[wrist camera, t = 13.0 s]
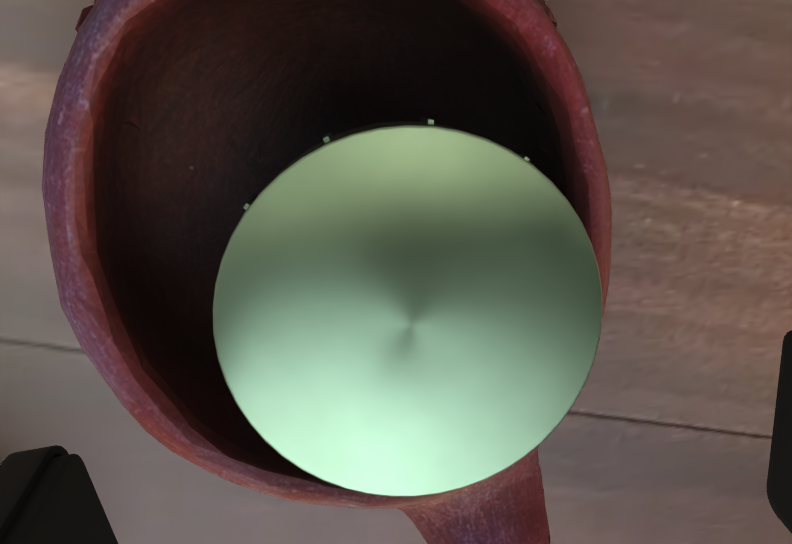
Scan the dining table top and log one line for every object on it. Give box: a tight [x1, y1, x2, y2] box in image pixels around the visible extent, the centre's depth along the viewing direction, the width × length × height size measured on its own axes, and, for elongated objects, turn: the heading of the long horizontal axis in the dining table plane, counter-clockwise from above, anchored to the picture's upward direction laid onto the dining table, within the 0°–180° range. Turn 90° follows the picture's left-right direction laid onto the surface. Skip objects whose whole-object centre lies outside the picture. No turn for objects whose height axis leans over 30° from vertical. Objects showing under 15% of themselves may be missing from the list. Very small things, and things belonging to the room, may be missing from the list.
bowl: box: [42, 0, 612, 544], centre depth 16 cm, size 16×13×8 cm
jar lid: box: [213, 117, 602, 497], centre depth 12 cm, size 7×7×2 cm
